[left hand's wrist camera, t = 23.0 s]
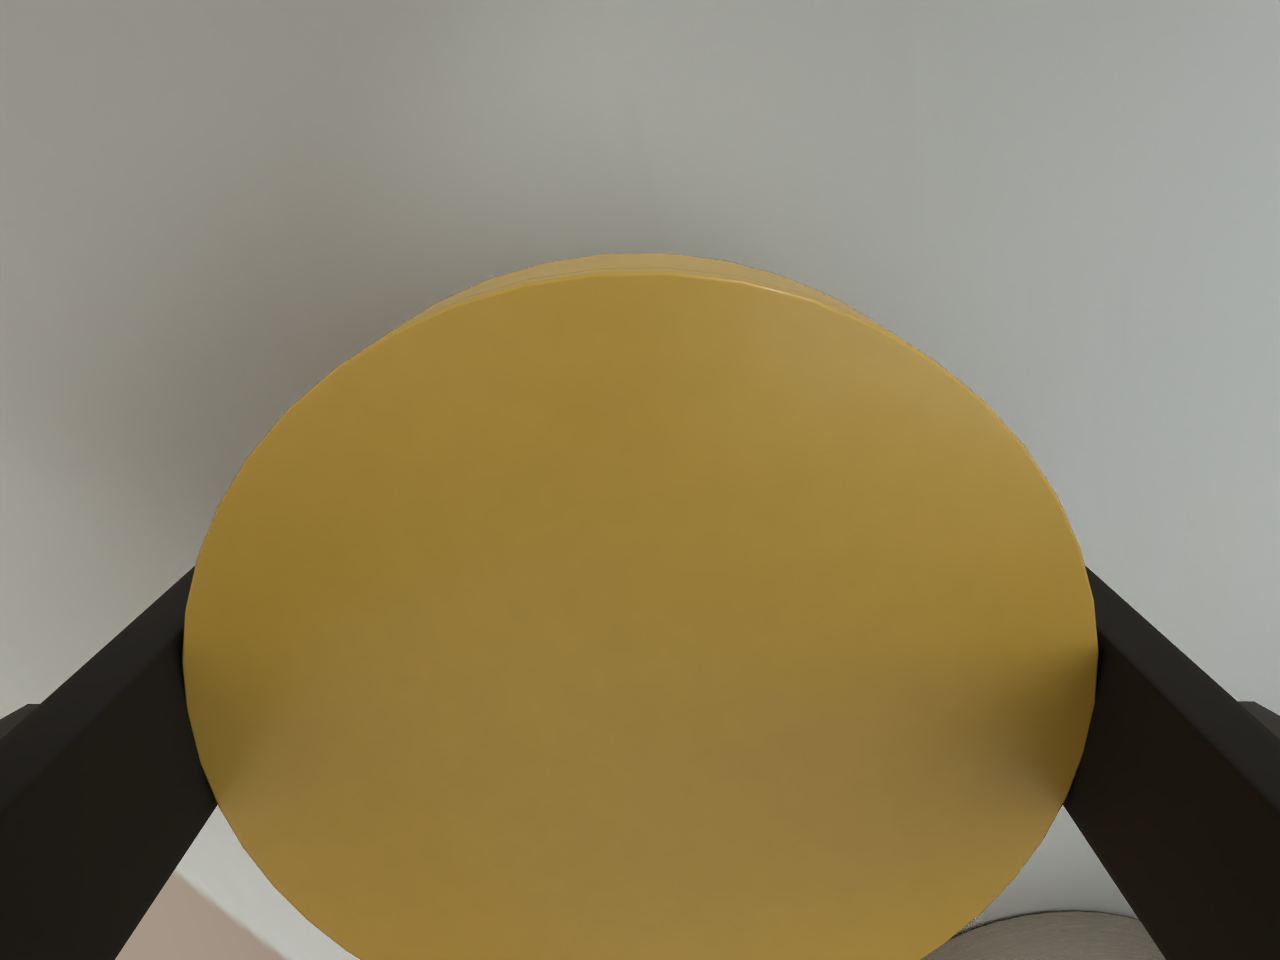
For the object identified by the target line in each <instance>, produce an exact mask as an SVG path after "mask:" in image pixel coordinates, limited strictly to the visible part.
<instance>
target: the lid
mask: <svg viewBox="0 0 1280 960" xmlns="http://www.w3.org/2000/svg"><path fill="white" fill-rule="evenodd" d="M1098 654H1099V652H1098V641H1097V630H1096V619H1095V608H1094V599H1093V595H1092V592H1091V588H1090V584H1089V580H1088V576H1087V572H1086V568H1085V565H1084V561H1083V557H1082V553H1081V549H1080V546H1079V544H1078V542H1077V539H1076V537H1075V535H1074V532H1073V530H1072V528H1071V526H1070V523H1069V521H1068V519H1067V517H1066V514H1065V512H1064V510H1063V508H1062V505H1061V503H1060V501H1059V499H1058V496H1057V495H1056V493H1055V492H1054V490H1053V488H1052V487H1051V485H1050V484H1049V482H1048V481H1047V479H1046V478H1045V476H1044V475H1043V473H1042V472H1041V470H1040V469H1039V467H1038V465H1037V464H1036V462H1035V461H1034V459H1033V458H1032V456H1031V455H1030V453H1029V452H1028V450H1027V449H1026V447H1025V446H1024V445H1023V444H1022V442H1021V441H1020V440H1019V439H1018V438H1017V437H1016V436H1015V435H1014V434H1013V432H1012V431H1011V430H1010V429H1009V428H1008V427H1007V426H1006V425H1005V424H1004V422H1003V421H1002V420H1001V419H1000V418H999V417H998V416H997V415H996V414H995V413H994V411H993V410H992V409H991V408H990V407H989V406H988V405H987V404H986V403H985V401H984V400H982V399H981V398H980V397H979V396H977V395H976V394H975V393H974V392H973V391H971V390H970V389H969V388H968V387H966V386H965V385H964V384H963V383H962V382H960V381H959V380H958V379H957V378H955V377H954V376H953V375H952V374H951V373H949V372H948V371H947V370H946V369H944V368H943V367H942V366H941V365H939V364H938V363H937V362H936V361H935V360H933V359H932V358H930V357H929V356H927V355H926V354H924V353H923V352H921V351H919V350H918V349H916V348H915V347H913V346H912V345H910V344H909V343H907V342H906V341H904V340H903V339H901V338H900V337H898V336H896V335H895V334H893V333H892V332H890V331H889V330H887V329H886V328H884V327H883V326H881V325H879V324H878V323H876V322H874V321H873V320H871V319H869V318H868V317H866V316H864V315H863V314H861V313H859V312H857V311H856V310H854V309H852V308H851V307H849V306H847V305H846V304H844V303H842V302H841V301H839V300H837V299H836V298H834V297H831V296H829V295H827V294H824V293H822V292H819V291H817V290H815V289H812V288H810V287H808V286H805V285H803V284H800V283H798V282H796V281H793V280H791V279H788V278H786V277H784V276H781V275H778V274H774V273H770V272H766V271H762V270H759V269H755V268H751V267H747V266H744V265H740V264H736V263H732V262H728V261H725V260H717V259H709V258H701V257H693V256H685V255H677V254H668V253H627V254H600V255H593V256H586V257H580V258H573V259H566V260H560V261H553V262H546V263H542V264H539V265H536V266H532V267H529V268H525V269H522V270H519V271H515V272H512V273H508V274H505V275H501V276H498V277H495V278H491V279H488V280H486V281H484V282H481V283H479V284H477V285H475V286H473V287H470V288H468V289H466V290H464V291H462V292H459V293H457V294H455V295H453V296H451V297H448V298H446V299H444V300H442V301H439V302H437V303H435V304H434V305H432V306H431V307H429V308H427V309H426V310H424V311H423V312H421V313H420V314H418V315H416V316H415V317H413V318H412V319H410V320H409V321H407V322H405V323H404V324H402V325H401V326H399V327H398V328H396V329H394V330H393V331H391V332H390V333H388V334H387V335H385V336H384V337H382V338H381V339H379V340H377V341H376V342H374V343H373V344H371V345H370V346H368V347H367V348H365V349H364V350H362V351H361V352H359V353H358V354H356V355H354V356H353V357H351V358H350V359H348V360H347V361H345V362H344V363H342V364H341V365H339V366H338V367H336V368H335V369H334V370H333V371H332V372H330V373H329V374H328V375H327V376H326V377H325V378H323V379H322V380H321V381H320V382H319V383H318V384H317V385H315V386H314V387H313V388H312V389H311V390H310V391H308V392H307V393H306V394H305V395H304V396H303V397H302V398H300V399H299V400H298V401H297V402H296V403H295V404H293V405H292V406H291V407H290V408H289V409H288V410H287V411H286V412H285V413H284V415H283V416H282V417H281V418H280V419H279V420H278V422H277V423H276V424H275V425H274V426H273V428H272V429H271V430H270V431H269V432H268V433H267V435H266V436H265V437H264V438H263V439H262V440H261V442H260V443H259V444H258V445H257V446H256V448H255V449H254V450H253V451H252V452H251V453H250V455H249V456H248V457H247V459H246V461H245V462H244V464H243V466H242V467H241V469H240V471H239V472H238V474H237V476H236V477H235V479H234V481H233V482H232V484H231V485H230V487H229V489H228V490H227V492H226V494H225V495H224V497H223V499H222V500H221V502H220V504H219V505H218V507H217V510H216V512H215V515H214V517H213V520H212V522H211V525H210V527H209V530H208V532H207V535H206V537H205V540H204V542H203V545H202V547H201V549H200V552H199V554H198V557H197V561H196V565H195V570H194V574H193V579H192V583H191V588H190V592H189V596H188V601H187V605H186V610H185V625H184V641H183V658H182V666H183V676H184V686H185V696H186V705H187V710H188V714H189V718H190V722H191V727H192V731H193V735H194V739H195V743H196V747H197V751H198V755H199V759H200V763H201V766H202V768H203V770H204V773H205V775H206V777H207V780H208V782H209V785H210V787H211V789H212V792H213V794H214V797H215V799H216V801H217V804H218V806H219V808H220V809H221V811H222V813H223V814H224V816H225V818H226V819H227V821H228V823H229V825H230V826H231V828H232V830H233V831H234V833H235V835H236V836H237V838H238V840H239V841H240V843H241V845H242V846H243V848H244V849H245V851H246V852H247V853H248V854H249V856H250V857H251V858H252V860H253V861H254V862H255V863H256V865H257V866H258V867H259V868H260V870H261V871H262V872H263V874H264V875H265V876H266V877H267V879H268V880H269V881H270V882H271V884H272V885H273V886H274V887H275V888H276V889H277V890H278V891H279V892H280V893H281V894H282V895H283V896H284V897H285V898H286V899H287V900H288V901H289V902H290V903H291V904H292V905H293V906H294V907H295V908H296V909H297V910H298V911H299V912H300V913H301V914H302V915H303V916H304V917H305V918H306V919H307V920H308V921H309V922H311V923H312V924H313V925H314V926H316V927H317V928H318V929H319V930H321V931H322V932H323V933H325V934H326V935H327V936H328V937H330V938H331V939H332V940H333V941H335V942H336V943H337V944H338V945H340V946H341V947H342V948H344V949H345V950H346V951H348V952H349V953H351V954H353V955H354V956H356V957H357V958H359V959H360V960H920V959H922V958H923V957H925V956H926V955H928V954H930V953H931V952H933V951H934V950H936V949H937V948H939V947H940V946H942V945H943V944H944V943H946V942H947V941H948V940H949V939H950V938H952V937H953V936H954V935H955V934H956V933H958V932H959V931H960V930H961V929H963V928H964V927H965V926H966V925H967V924H969V923H970V922H971V921H972V920H973V919H975V918H976V917H977V916H978V915H979V914H981V913H982V911H983V910H984V909H985V908H986V907H987V906H988V905H989V904H990V903H991V902H992V901H993V900H994V899H995V898H996V897H997V896H998V895H999V894H1000V893H1001V892H1002V891H1003V890H1004V889H1005V888H1006V886H1007V885H1008V884H1009V883H1010V882H1011V881H1012V880H1013V879H1014V878H1015V877H1016V875H1017V874H1018V873H1019V871H1020V870H1021V868H1022V867H1023V866H1024V864H1025V863H1026V862H1027V860H1028V859H1029V858H1030V856H1031V855H1032V854H1033V852H1034V851H1035V850H1036V848H1037V847H1038V846H1039V844H1040V843H1041V842H1042V840H1043V839H1044V837H1045V835H1046V833H1047V831H1048V830H1049V828H1050V826H1051V824H1052V823H1053V821H1054V819H1055V817H1056V815H1057V814H1058V812H1059V810H1060V808H1061V806H1062V805H1063V803H1064V801H1065V799H1066V797H1067V795H1068V792H1069V790H1070V787H1071V785H1072V782H1073V779H1074V777H1075V774H1076V772H1077V769H1078V767H1079V764H1080V761H1081V758H1082V755H1083V751H1084V747H1085V743H1086V738H1087V734H1088V730H1089V726H1090V722H1091V717H1092V713H1093V709H1094V705H1095V698H1096V683H1097V669H1098Z"/></svg>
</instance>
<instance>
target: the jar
mask: <svg viewBox="0 0 1280 960" xmlns="http://www.w3.org/2000/svg"><path fill="white" fill-rule="evenodd" d="M920 960H1166V959H1165V958H1164V956H1163V955H1162V953H1161V952H1160V950H1159V949H1158V947H1157V946H1156V944H1155V943H1154V941H1153V940H1152V938H1151V937H1150V935H1149V934H1148V932H1147V930H1146V929H1145V927H1144V926H1143V924H1142V923H1141V921H1140V920H1137V919H1133V918H1129V917H1126V916H1120V915H1114V914H1107V913H1101V912H1082V911H1065V912H1046V913H1039V914H1032V915H1024V916H1019V917H1014V918H1010V919H1006V920H1001V921H997V922H994V923H990V924H987V925H984V926H981V927H978V928H975V929H972V930H969V931H967V932H965V933H963V934H960V935H958V936H956V937H953V938H951V939H949V940H948V941H947V942H946V943H944V944H943V945H942V946H940V947H939V948H937V949H936V950H934V951H933V952H931V953H930V954H928V955H926V956H925V957H923V958H922V959H920Z"/></svg>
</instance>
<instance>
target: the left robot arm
mask: <svg viewBox="0 0 1280 960" xmlns="http://www.w3.org/2000/svg"><path fill="white" fill-rule="evenodd" d="M1085 568H1086V572H1087V576H1088V580H1089V584H1090V588H1091V592H1092V595H1093V599H1094V608H1095V619H1096V630H1097V641H1098V652H1099V654H1098V669H1097V683H1096V698H1095V705H1094V709H1093V713H1092V717H1091V722H1090V726H1089V730H1088V734H1087V738H1086V743H1085V747H1084V751H1083V755H1082V758H1081V761H1080V764H1079V767H1078V769H1077V772H1076V774H1075V777H1074V779H1073V782H1072V785H1071V787H1070V790H1069V792H1068V795H1067V797H1066V799H1065V801H1064V803H1063V805H1064V807H1065V808H1066V810H1067V811H1068V813H1069V814H1070V816H1071V818H1072V819H1073V821H1074V822H1075V824H1076V825H1077V827H1078V828H1079V830H1080V831H1081V833H1082V834H1083V836H1084V837H1085V839H1086V840H1087V842H1088V843H1089V845H1090V846H1091V848H1092V849H1093V851H1094V852H1095V854H1096V855H1097V857H1098V858H1099V860H1100V861H1101V863H1102V864H1103V866H1104V867H1105V869H1106V870H1107V872H1108V873H1109V875H1110V876H1111V878H1112V879H1113V881H1114V882H1115V884H1116V885H1117V887H1118V888H1119V890H1120V891H1121V893H1122V894H1123V896H1124V897H1125V899H1126V900H1127V902H1128V903H1129V905H1130V906H1131V908H1132V909H1133V911H1134V912H1135V914H1136V915H1137V917H1138V918H1139V920H1140V921H1141V923H1142V924H1143V926H1144V927H1145V929H1146V930H1147V932H1148V934H1149V935H1150V937H1151V938H1152V940H1153V941H1154V943H1155V944H1156V946H1157V947H1158V949H1159V950H1160V952H1161V953H1162V955H1163V956H1164V958H1165V959H1166V960H1280V716H1279V715H1277V714H1275V713H1274V712H1272V711H1270V710H1268V709H1266V708H1265V707H1263V706H1261V705H1259V704H1257V703H1256V702H1237V701H1236V700H1235V699H1234V698H1233V697H1232V696H1231V695H1230V694H1228V693H1227V692H1226V691H1225V690H1224V689H1223V688H1222V687H1221V686H1219V685H1218V684H1217V683H1216V682H1215V681H1214V680H1213V679H1212V678H1211V677H1209V676H1208V675H1207V674H1206V673H1205V672H1204V671H1203V670H1202V669H1200V668H1199V667H1198V666H1197V665H1196V664H1195V663H1194V662H1193V661H1191V660H1190V659H1189V658H1188V657H1187V656H1186V655H1185V654H1184V653H1183V652H1181V651H1180V650H1179V649H1178V648H1177V647H1176V646H1175V645H1174V644H1172V643H1171V642H1170V641H1169V640H1168V639H1167V638H1166V637H1165V636H1163V635H1162V634H1161V633H1160V632H1159V631H1158V630H1157V629H1156V628H1155V627H1153V626H1152V625H1151V624H1150V623H1149V622H1148V621H1147V620H1146V619H1144V618H1143V617H1142V616H1141V615H1140V614H1139V613H1138V612H1137V611H1135V610H1134V609H1133V608H1132V607H1131V606H1130V605H1129V604H1128V603H1127V602H1125V601H1124V600H1123V599H1122V598H1121V597H1120V596H1119V595H1118V594H1116V593H1115V592H1114V591H1113V590H1112V589H1111V588H1110V587H1109V586H1107V585H1106V584H1105V583H1104V582H1103V581H1102V580H1101V579H1100V578H1099V577H1097V576H1096V575H1095V574H1094V573H1093V572H1092V571H1091V570H1090V569H1088V568H1087V567H1086V566H1085ZM194 570H195V566H194V567H193V568H192V569H191V570H190V571H189V572H188V573H187V574H185V575H184V576H183V577H182V578H181V579H180V580H179V581H178V582H176V583H175V584H174V585H173V586H172V587H171V588H170V589H169V590H167V591H166V592H165V593H164V594H163V595H162V596H161V597H160V598H159V599H157V600H156V601H155V602H154V603H153V604H152V605H151V606H150V607H148V608H147V609H146V610H145V611H144V612H143V613H142V614H141V615H139V616H138V617H137V618H136V619H135V620H134V621H133V622H132V623H131V624H129V625H128V626H127V627H126V628H125V629H124V630H123V631H122V632H120V633H119V634H118V635H117V636H116V637H115V638H114V639H113V640H112V641H110V642H109V643H108V644H107V645H106V646H105V647H104V648H103V649H101V650H100V651H99V652H98V653H97V654H96V655H95V656H94V657H92V658H91V659H90V660H89V661H88V662H87V663H86V664H85V665H84V666H82V667H81V668H80V669H79V670H78V671H77V672H76V673H75V674H73V675H72V676H71V677H70V678H69V679H68V680H67V681H66V682H64V683H63V684H62V685H61V686H60V687H59V688H58V689H57V690H56V691H54V692H53V693H52V694H51V695H50V696H49V697H48V698H47V699H45V700H44V701H43V702H42V703H41V704H27V705H25V706H24V707H22V708H20V709H18V710H16V711H15V712H13V713H11V714H9V715H7V716H6V717H4V718H2V719H0V960H115V958H116V957H117V955H118V954H119V952H120V951H121V949H122V948H123V946H124V945H125V943H126V942H127V940H128V939H129V937H130V936H131V934H132V933H133V931H134V930H135V928H136V927H137V925H138V924H139V922H140V921H141V919H142V918H143V916H144V915H145V913H146V912H147V910H148V909H149V907H150V906H151V904H152V903H153V901H154V900H155V898H156V897H157V895H158V894H159V892H160V891H161V889H162V888H163V886H164V885H165V883H166V882H167V880H168V879H169V877H170V876H171V874H172V873H173V871H174V870H175V868H176V867H177V865H178V864H179V862H180V860H181V859H182V857H183V856H184V854H185V853H186V851H187V850H188V848H189V847H190V845H191V844H192V842H193V841H194V839H195V838H196V836H197V835H198V833H199V832H200V830H201V829H202V827H203V826H204V824H205V823H206V821H207V820H208V818H209V817H210V815H211V814H212V812H213V811H214V809H215V808H216V806H217V805H218V804H217V801H216V799H215V797H214V794H213V792H212V789H211V787H210V785H209V782H208V780H207V777H206V775H205V773H204V770H203V768H202V766H201V763H200V759H199V755H198V751H197V747H196V743H195V739H194V735H193V731H192V727H191V722H190V718H189V714H188V710H187V705H186V696H185V686H184V676H183V666H182V658H183V641H184V625H185V610H186V605H187V601H188V596H189V592H190V588H191V583H192V579H193V574H194Z"/></svg>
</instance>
